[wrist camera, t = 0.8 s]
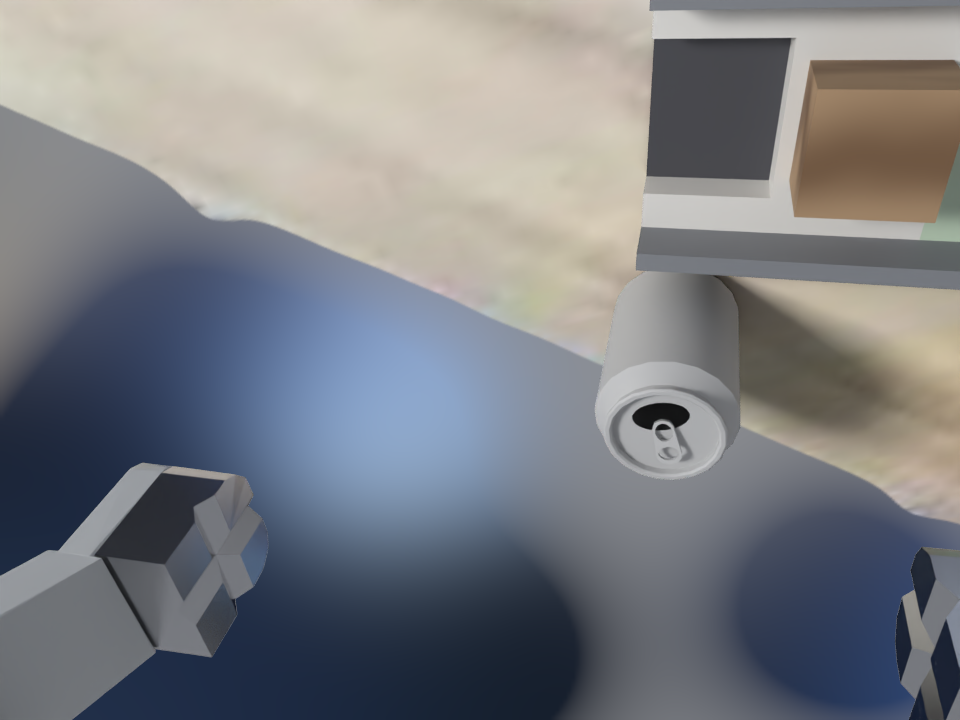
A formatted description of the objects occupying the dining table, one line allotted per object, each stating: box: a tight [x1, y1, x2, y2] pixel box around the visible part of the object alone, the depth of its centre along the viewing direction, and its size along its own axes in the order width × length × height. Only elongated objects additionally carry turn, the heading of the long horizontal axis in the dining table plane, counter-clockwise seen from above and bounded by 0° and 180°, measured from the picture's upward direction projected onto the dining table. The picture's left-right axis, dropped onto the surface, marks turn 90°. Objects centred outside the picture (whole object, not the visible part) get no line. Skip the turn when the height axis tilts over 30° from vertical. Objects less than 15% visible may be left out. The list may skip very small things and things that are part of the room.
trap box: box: [636, 0, 960, 290], centre depth 36 cm, size 14×28×6 cm, turn 94°
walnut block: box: [789, 60, 960, 223], centre depth 36 cm, size 6×6×4 cm
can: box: [595, 271, 740, 480], centre depth 45 cm, size 8×8×12 cm
